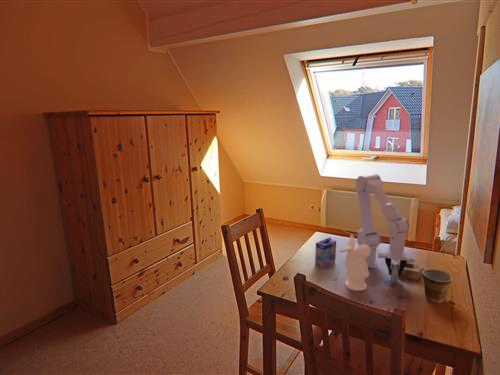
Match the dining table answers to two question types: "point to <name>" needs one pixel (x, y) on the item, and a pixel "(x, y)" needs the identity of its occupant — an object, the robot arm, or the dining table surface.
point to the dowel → (394, 272)
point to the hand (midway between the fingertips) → (394, 274)
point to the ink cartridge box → (325, 253)
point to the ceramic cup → (436, 284)
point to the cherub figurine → (356, 265)
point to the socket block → (410, 270)
